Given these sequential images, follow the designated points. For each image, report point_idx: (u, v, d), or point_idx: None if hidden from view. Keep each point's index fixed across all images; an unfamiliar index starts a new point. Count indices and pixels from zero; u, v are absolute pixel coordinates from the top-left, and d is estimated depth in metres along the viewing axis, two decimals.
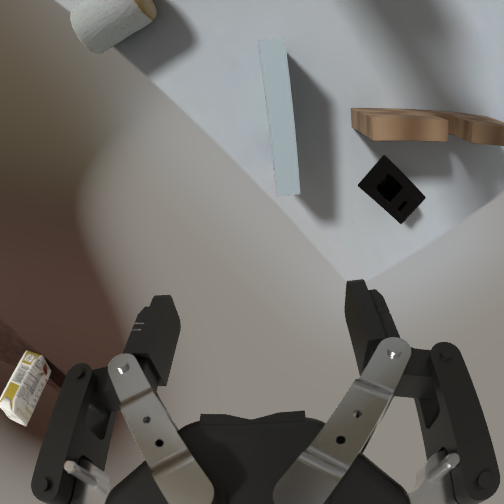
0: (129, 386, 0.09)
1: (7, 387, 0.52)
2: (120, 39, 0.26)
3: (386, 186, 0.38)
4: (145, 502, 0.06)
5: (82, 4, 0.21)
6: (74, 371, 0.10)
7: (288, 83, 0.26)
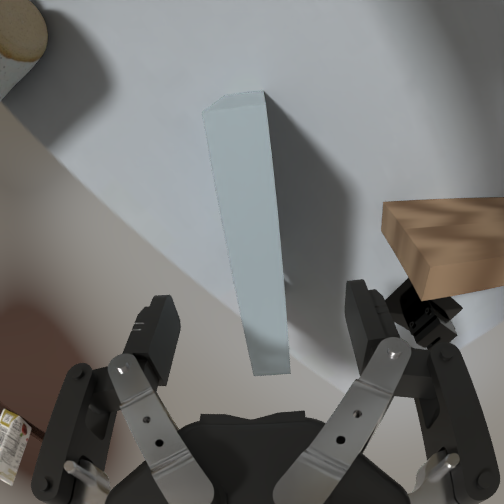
0: (129, 386, 0.09)
1: None
2: None
3: (415, 311, 0.25)
4: (145, 502, 0.06)
5: None
6: (74, 371, 0.10)
7: (273, 213, 0.13)
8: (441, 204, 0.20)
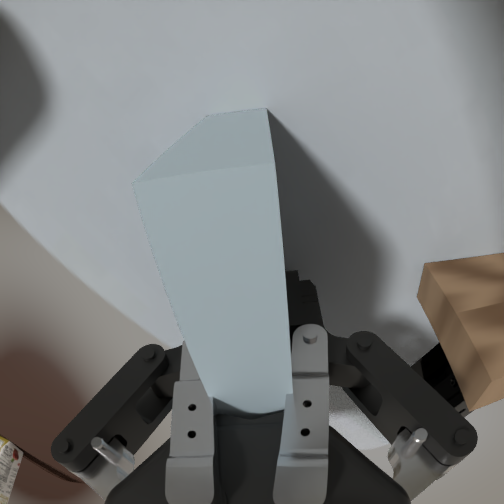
0: None
1: None
2: None
3: (439, 381, 0.20)
4: (145, 502, 0.06)
5: None
6: (146, 351, 0.10)
7: (284, 357, 0.07)
8: (493, 264, 0.14)
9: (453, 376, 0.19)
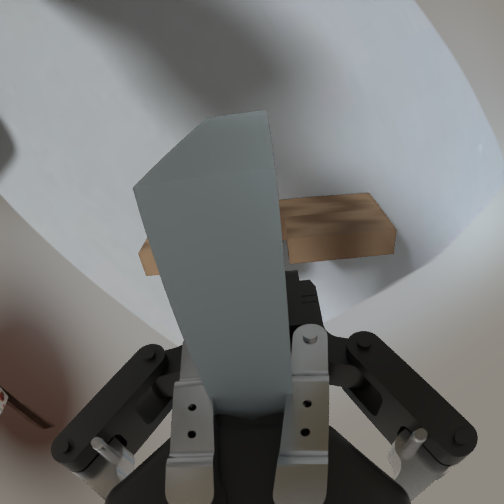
0: None
1: None
2: None
3: None
4: (145, 502, 0.06)
5: None
6: (146, 351, 0.10)
7: (284, 359, 0.07)
8: None
9: None
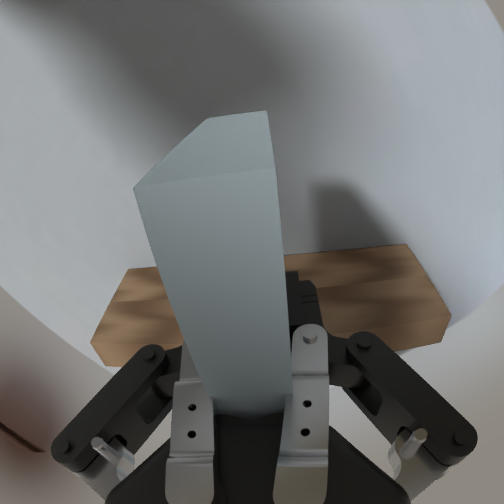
0: None
1: None
2: None
3: None
4: (145, 502, 0.06)
5: None
6: (146, 351, 0.10)
7: (284, 359, 0.07)
8: None
9: None
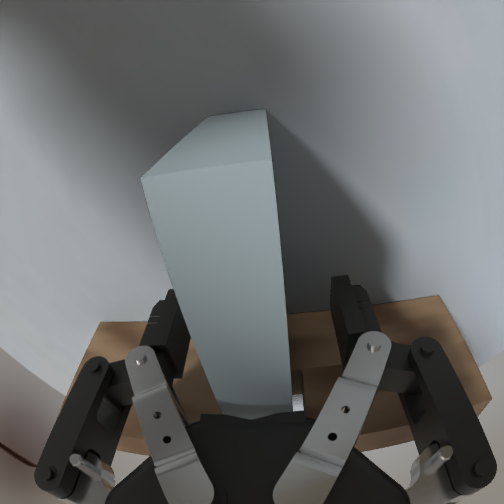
0: (148, 378, 0.10)
1: None
2: None
3: None
4: (145, 502, 0.06)
5: None
6: (90, 364, 0.10)
7: (282, 344, 0.08)
8: None
9: None
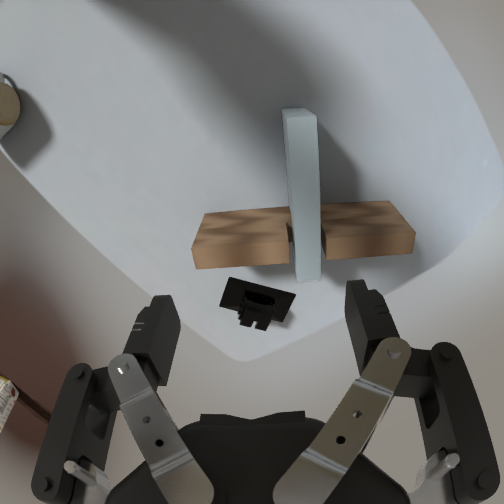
0: (129, 386, 0.09)
1: None
2: None
3: None
4: (145, 502, 0.06)
5: None
6: (74, 371, 0.10)
7: (317, 170, 0.25)
8: (243, 213, 0.35)
9: (244, 298, 0.41)
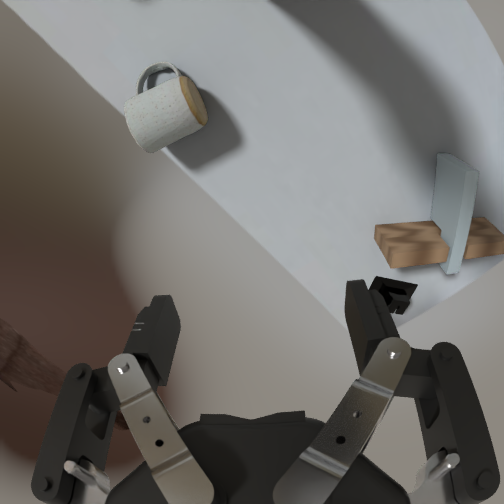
0: (129, 386, 0.09)
1: None
2: None
3: (383, 296, 0.51)
4: (145, 502, 0.06)
5: (136, 105, 0.31)
6: (74, 371, 0.10)
7: (473, 203, 0.34)
8: (404, 225, 0.44)
9: (387, 292, 0.50)
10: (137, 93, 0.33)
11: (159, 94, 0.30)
